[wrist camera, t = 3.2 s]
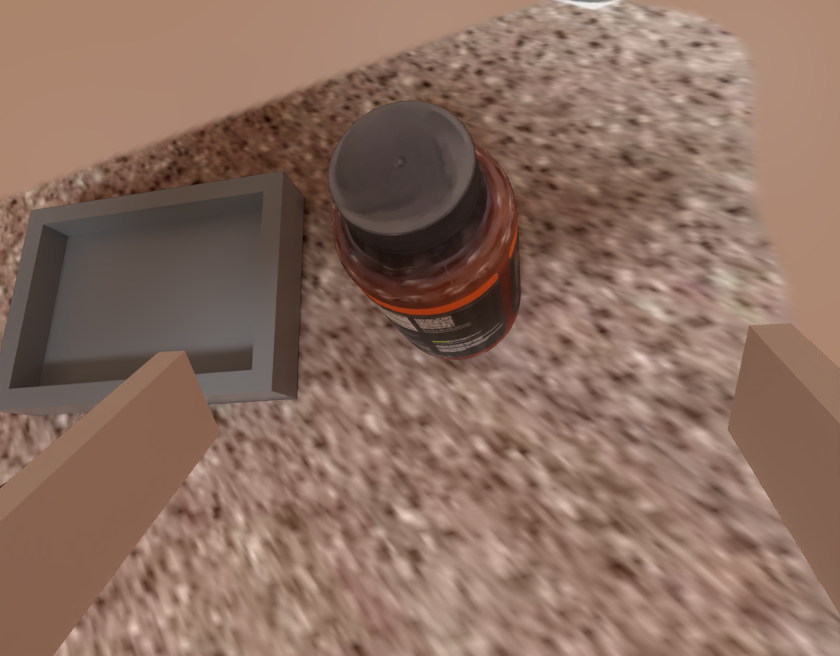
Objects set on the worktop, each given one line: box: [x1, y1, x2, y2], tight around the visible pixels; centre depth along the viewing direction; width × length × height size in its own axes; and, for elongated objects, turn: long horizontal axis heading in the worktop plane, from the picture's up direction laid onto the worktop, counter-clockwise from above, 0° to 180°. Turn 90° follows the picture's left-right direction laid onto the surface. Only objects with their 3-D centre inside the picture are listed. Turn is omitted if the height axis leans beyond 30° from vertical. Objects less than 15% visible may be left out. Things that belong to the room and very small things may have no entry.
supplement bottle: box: [328, 101, 521, 360], centre depth 18 cm, size 6×6×11 cm
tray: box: [0, 171, 304, 416], centre depth 25 cm, size 15×11×2 cm
